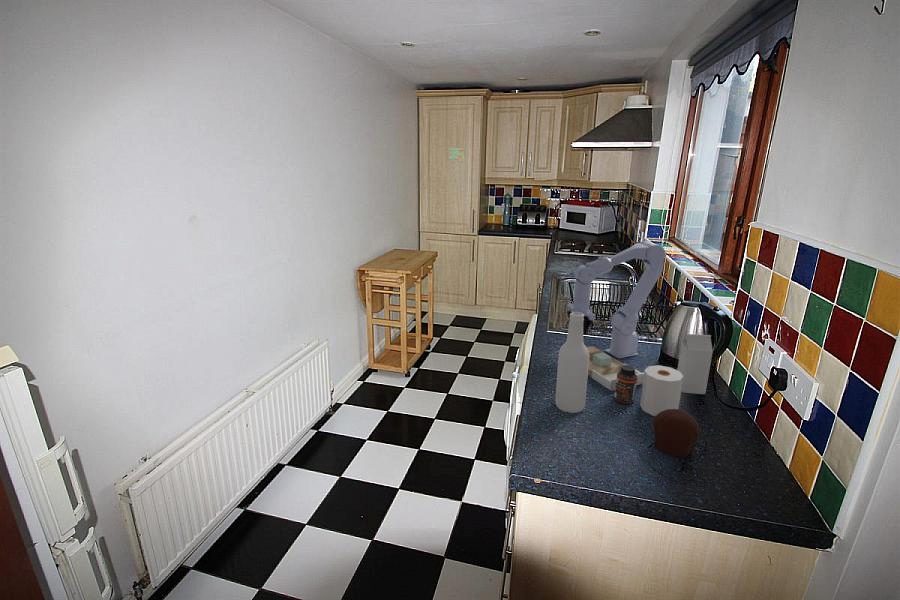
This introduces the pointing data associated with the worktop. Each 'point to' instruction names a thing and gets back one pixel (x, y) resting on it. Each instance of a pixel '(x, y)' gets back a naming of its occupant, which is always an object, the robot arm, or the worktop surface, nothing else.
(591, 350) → the salmon pink cube
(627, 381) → the supplement bottle
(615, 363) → the beech board
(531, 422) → the worktop surface
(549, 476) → the worktop surface
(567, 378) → the alcohol
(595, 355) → the sage green cube
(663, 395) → the toilet paper
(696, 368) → the milk carton
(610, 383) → the tray
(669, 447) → the muffin
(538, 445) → the worktop surface
